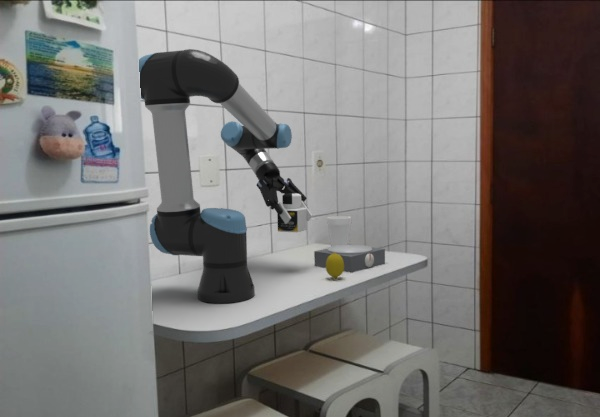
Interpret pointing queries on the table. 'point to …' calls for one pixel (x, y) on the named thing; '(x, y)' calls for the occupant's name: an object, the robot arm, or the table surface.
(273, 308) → the table surface
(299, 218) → the medicine bottle
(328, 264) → the lemon
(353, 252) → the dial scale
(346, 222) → the clear plastic beaker
